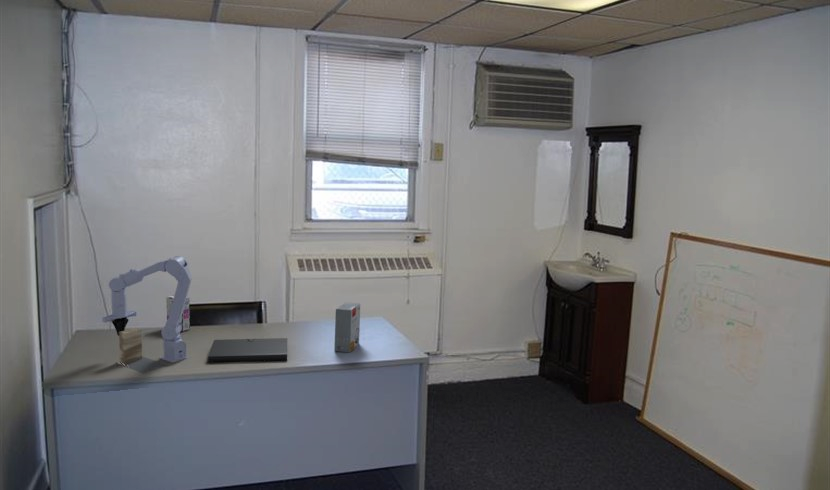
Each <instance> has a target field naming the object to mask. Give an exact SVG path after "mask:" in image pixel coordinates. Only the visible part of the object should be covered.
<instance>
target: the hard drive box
mask: <svg viewBox="0 0 830 490" xmlns="http://www.w3.org/2000/svg"><path fill="white" fill-rule="evenodd" d="M334 318H335V322H334V323H335V325H334V345H333V346H334V351H335V352H341V353H342V352H343V353H351V352H352V351H353V350H354V349H355V348H356V347H357V346H358V345H359V344H360V324H361V321H360V320H361V303H358V302H351V301H349V302H348V301H347V302H344V303H343V304H341V305H340V306H339V307H337V308H335V317H334Z"/></svg>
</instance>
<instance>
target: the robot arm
mask: <svg viewBox="0 0 830 490" xmlns="http://www.w3.org/2000/svg"><path fill="white" fill-rule="evenodd" d="M157 272H164V273H166V272H167V273H168V274H169V275H170V276H172V277H174V278H175V280H176V281H177V285H176V289H175V292H174V295H175V296H174V300H173V303H172V307H171V311H170V315H169V318H168V320H167V319H166V321H165V325H164V327H162V329H161V331H160V332H161V333H160V335H161V336H162V345H163V347H162V349H163V351H162V352H163V355H162V356H159V357H158V358H159V359H161V360H163V361H167V362H170V363H176V362H180V361H182V360H186V359H188V358H189V357H188V356H187V344H186V342H185V341H184V340H183V339H182V336H181V332H182V331H181V330H182V325H181V322H182V318H181V317H182V313H183V309H184V305H185V302H186V298H188V293H189V289H190V286H191V282H192V275H191V272H190V268H189V262H187V260H186V259H185V258H184V257H183V256H181V255H180V256H179V255H175V256H174V257H171V258H170V257H169V258H165V259H163V260H160V261H158V262H156V263H153V264H151V265H149V266H147V267H145V268H142V269H138V268H131V269H129V270H128V272H125V273H120V274H119V275H116V276H115V277H113V278H112V279H110V281H109V282H108V287H109V289H110V291H111V314H109V315H106V316H103V317H102V319H101V320H102V323H105V324H107V323H108V322H111V324H112V325H113V327H114V328H115V331H116V334H117V336H118V337H119V332H121V331H125V330H126V327H127V324H128V323H129V318H131V317H137V311H136V310H132V311H128V310H127V309H128V308H127V307H128V306H127V305H128V304H127V288H129V287H131V286H133V285H136V284H137V283H140V282H142V281H143V279H144V277H147V276H149V275H152V274H154V273H157Z"/></svg>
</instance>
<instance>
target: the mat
mask: <svg viewBox="0 0 830 490" xmlns="http://www.w3.org/2000/svg"><path fill="white" fill-rule="evenodd" d="M120 363H121V362H120ZM121 364H122V363H121ZM124 364H125V363H124ZM122 365H123V364H122ZM122 365H121V366H122ZM127 365H128V366H129V369H131V370H133V371H134V370H135V371H136V372H137V371H138V372H140V373H142V374H144V373H147V372H150V371H155V370H157V369H162V368H164V367H168V366H169V364H168V363H164V362H161V361H158V360H154V359H152V358H148V357H146V356H143V355H142V359H140V360H136V361H133V362H129V363H126V364H125V366H126V367H125V366H124V365H123V367H125V368H128V366H127Z"/></svg>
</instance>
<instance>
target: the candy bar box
mask: <svg viewBox="0 0 830 490" xmlns="http://www.w3.org/2000/svg"><path fill="white" fill-rule="evenodd" d="M174 296H175V294H173V295H169V296H166V321H167V320H168V318H169V315H170V311H171V307H172V303H173V300H174ZM181 318H182V322H181V325H182V330H181V332H188V331H190V330H191V328H190V327H191V326H190V325H191V324H190V323H191V321H190V320H191V319H190V297H187V298H186V302H185V305H184V309H183V313H182V317H181Z"/></svg>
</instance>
